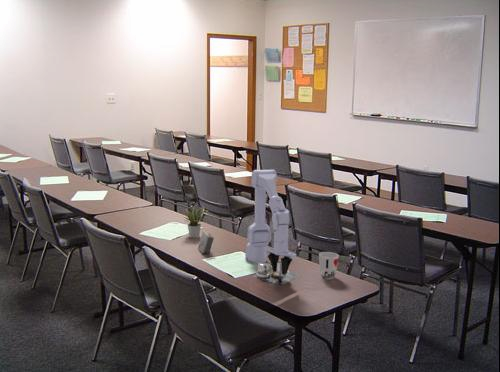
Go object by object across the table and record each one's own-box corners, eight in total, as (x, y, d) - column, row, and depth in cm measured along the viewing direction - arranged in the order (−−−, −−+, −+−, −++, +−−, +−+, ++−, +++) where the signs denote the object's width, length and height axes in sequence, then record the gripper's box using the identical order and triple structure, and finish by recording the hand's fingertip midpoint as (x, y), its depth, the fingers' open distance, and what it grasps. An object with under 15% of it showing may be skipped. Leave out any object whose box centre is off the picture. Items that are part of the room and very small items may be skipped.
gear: (271, 273, 213) (271, 261, 213) (280, 270, 218) (280, 258, 217) (282, 277, 210) (283, 265, 209) (291, 274, 214) (292, 262, 213)
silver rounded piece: (252, 275, 219) (253, 264, 218) (261, 272, 223) (261, 260, 222) (264, 279, 215) (264, 267, 214) (272, 275, 220) (273, 264, 219)
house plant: (212, 232, 285) (212, 203, 282) (207, 240, 271) (207, 209, 268) (186, 231, 286) (186, 202, 283) (180, 238, 273) (180, 208, 269)
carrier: (251, 278, 219) (252, 269, 218) (273, 269, 230) (273, 260, 229) (280, 288, 209) (281, 278, 209) (301, 278, 221) (302, 268, 220)
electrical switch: (197, 248, 258) (199, 230, 256) (207, 248, 259) (209, 230, 258) (202, 254, 249) (203, 235, 247) (212, 254, 250) (214, 235, 249)
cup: (322, 281, 218) (324, 258, 216) (315, 274, 225) (316, 252, 223) (340, 279, 220) (341, 257, 218) (332, 273, 228) (333, 251, 226)
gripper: (301, 241, 209) (300, 274, 211) (273, 235, 218) (272, 266, 220) (290, 245, 203) (289, 278, 206) (262, 238, 213) (261, 270, 215)
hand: (280, 272), depth 213 cm, fingers closed on gear, 4 cm apart
